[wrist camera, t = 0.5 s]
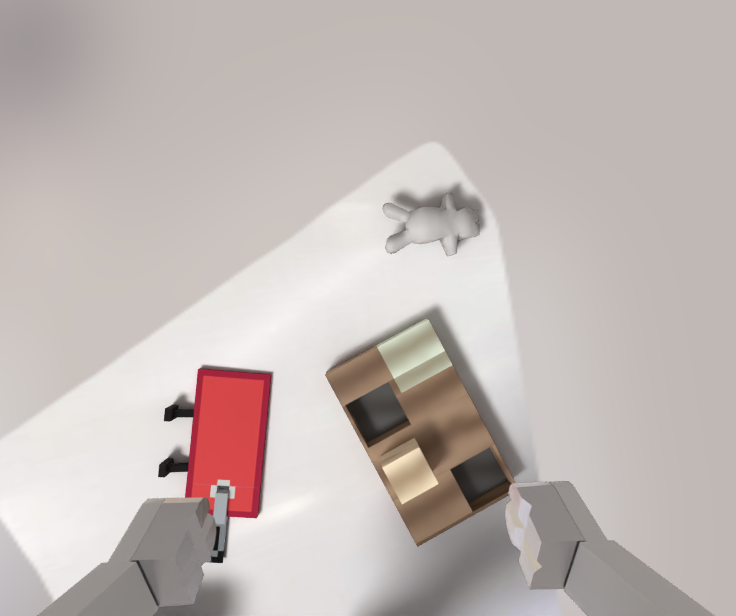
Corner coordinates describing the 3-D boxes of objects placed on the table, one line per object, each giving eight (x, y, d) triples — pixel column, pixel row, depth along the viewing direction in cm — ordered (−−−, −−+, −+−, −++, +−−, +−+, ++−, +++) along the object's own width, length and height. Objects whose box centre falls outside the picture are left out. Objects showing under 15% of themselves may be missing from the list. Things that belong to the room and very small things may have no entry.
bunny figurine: (485, 250, 57) (390, 255, 54) (471, 256, 62) (383, 260, 59) (481, 189, 57) (385, 191, 54) (467, 199, 62) (379, 201, 59)
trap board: (510, 480, 60) (518, 489, 57) (414, 534, 60) (417, 546, 57) (424, 319, 60) (428, 319, 57) (326, 371, 59) (325, 375, 56)
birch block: (432, 471, 57) (438, 483, 53) (398, 490, 57) (401, 504, 53) (414, 437, 57) (419, 447, 53) (380, 456, 57) (382, 467, 53)
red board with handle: (158, 555, 58) (254, 560, 59) (148, 567, 56) (249, 572, 56) (177, 366, 59) (272, 373, 60) (169, 368, 56) (268, 376, 57)
